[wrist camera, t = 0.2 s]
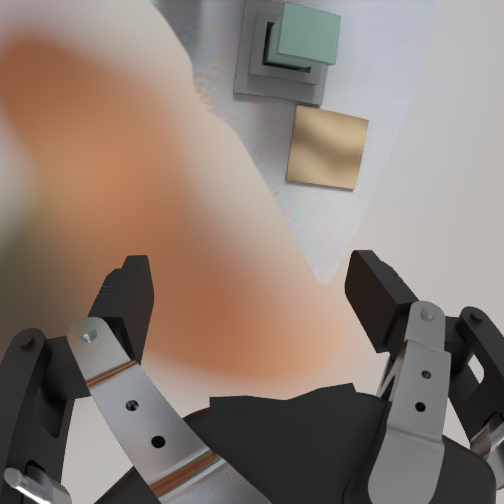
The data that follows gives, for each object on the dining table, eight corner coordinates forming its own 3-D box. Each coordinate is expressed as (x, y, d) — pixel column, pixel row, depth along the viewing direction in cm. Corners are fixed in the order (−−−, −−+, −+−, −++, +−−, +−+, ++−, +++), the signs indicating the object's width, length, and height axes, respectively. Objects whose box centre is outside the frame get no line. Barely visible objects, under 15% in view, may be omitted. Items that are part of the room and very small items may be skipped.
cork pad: (296, 105, 34) (297, 105, 34) (366, 119, 36) (368, 120, 35) (285, 179, 39) (286, 180, 38) (353, 187, 40) (354, 189, 40)
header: (245, 0, 27) (248, -7, 24) (330, 16, 28) (339, 11, 26) (233, 92, 33) (234, 92, 30) (319, 104, 34) (327, 105, 32)
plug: (265, 29, 29) (285, 2, 19) (306, 36, 30) (341, 15, 20) (260, 66, 31) (278, 52, 21) (301, 72, 32) (335, 64, 22)
